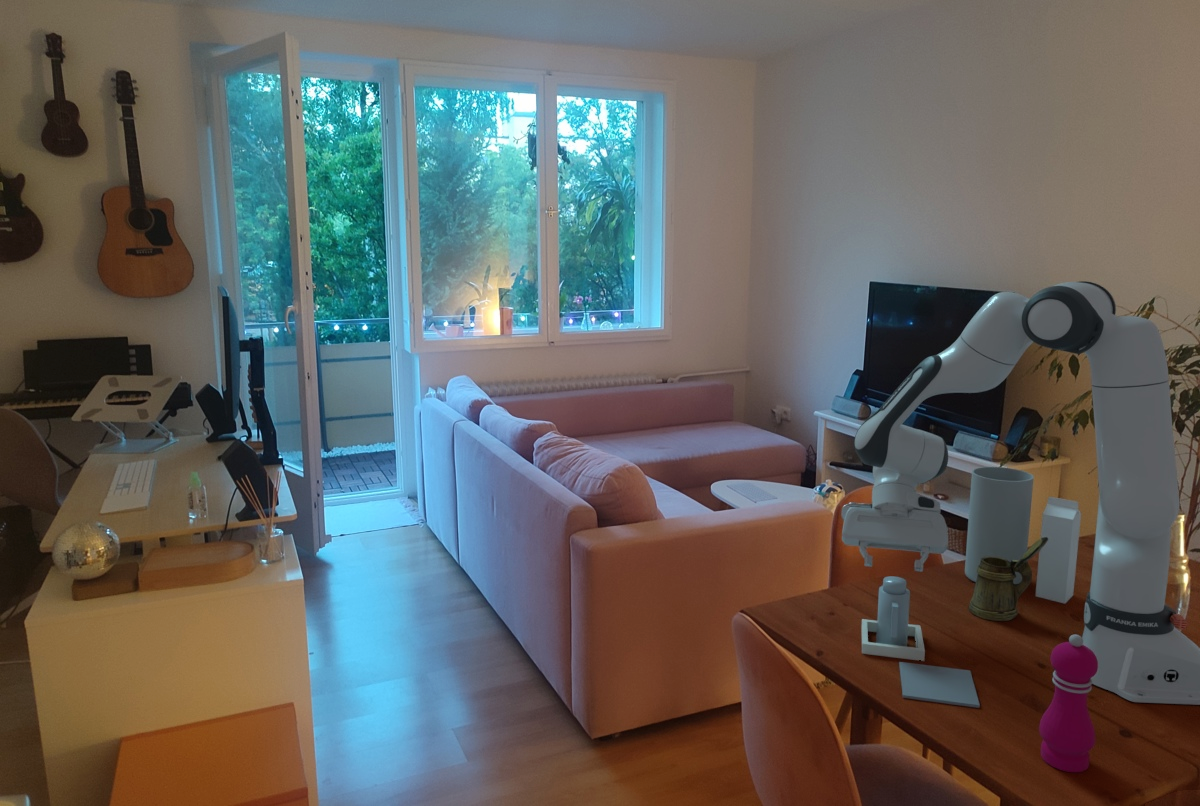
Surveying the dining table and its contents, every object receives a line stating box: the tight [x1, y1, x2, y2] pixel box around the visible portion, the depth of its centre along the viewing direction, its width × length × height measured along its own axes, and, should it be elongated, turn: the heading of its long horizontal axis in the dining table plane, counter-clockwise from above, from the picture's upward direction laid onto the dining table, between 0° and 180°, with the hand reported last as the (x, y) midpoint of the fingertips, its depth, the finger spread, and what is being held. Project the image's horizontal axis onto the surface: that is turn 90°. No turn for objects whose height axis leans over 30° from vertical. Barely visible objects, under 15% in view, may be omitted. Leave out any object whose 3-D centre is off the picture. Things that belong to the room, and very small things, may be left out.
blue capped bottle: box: [875, 575, 911, 647], centre depth 158 cm, size 6×8×13 cm
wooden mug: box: [968, 537, 1048, 622], centre depth 171 cm, size 9×14×18 cm, turn 60°
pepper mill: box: [1038, 634, 1098, 773], centre depth 122 cm, size 7×7×20 cm
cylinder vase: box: [964, 466, 1035, 584], centre depth 189 cm, size 12×12×25 cm
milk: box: [1035, 496, 1082, 605], centre depth 179 cm, size 6×6×22 cm
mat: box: [898, 661, 981, 709], centre depth 145 cm, size 12×12×1 cm
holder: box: [861, 618, 926, 662], centre depth 160 cm, size 11×11×2 cm
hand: (893, 567), depth 164 cm, fingers open, 8 cm apart
